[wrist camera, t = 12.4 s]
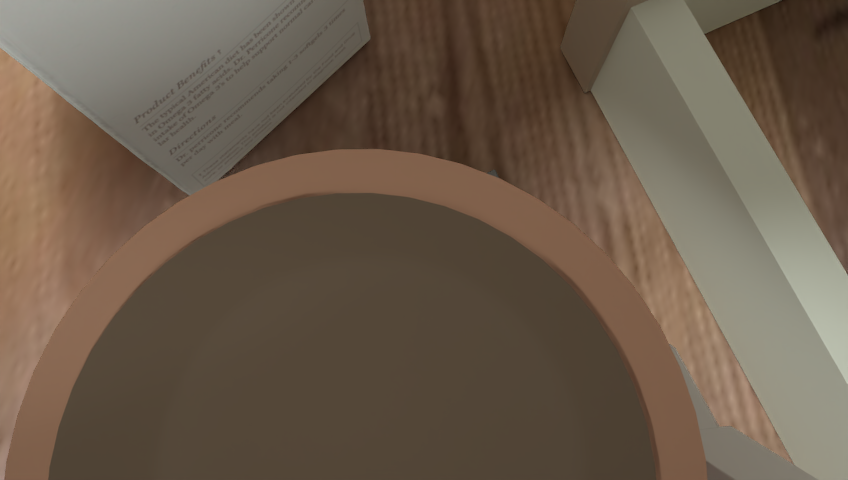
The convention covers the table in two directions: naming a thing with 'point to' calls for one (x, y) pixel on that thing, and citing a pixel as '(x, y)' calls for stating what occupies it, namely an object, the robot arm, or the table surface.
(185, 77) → the supplement box
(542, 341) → the terracotta pot
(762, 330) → the raised garden bed frame
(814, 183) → the table surface
